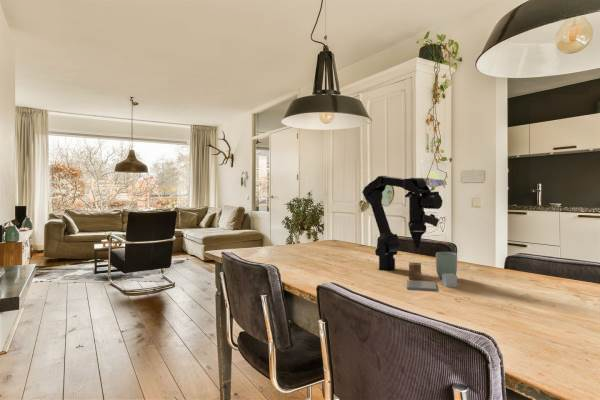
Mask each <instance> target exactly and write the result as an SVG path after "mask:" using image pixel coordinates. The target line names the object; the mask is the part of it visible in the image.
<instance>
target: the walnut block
mask: <svg viewBox="0 0 600 400" xmlns="http://www.w3.org/2000/svg"><path fill="white" fill-rule="evenodd" d="M408 280H410V281H422V263H421V262H408Z"/></svg>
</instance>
